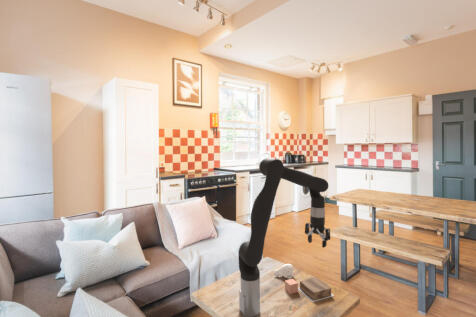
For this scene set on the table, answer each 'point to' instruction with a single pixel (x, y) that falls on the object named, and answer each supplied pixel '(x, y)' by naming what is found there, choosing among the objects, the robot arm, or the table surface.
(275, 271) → the white speckled wedge
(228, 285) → the table surface
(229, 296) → the table surface
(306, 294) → the grey flat square slab
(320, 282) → the walnut plinth
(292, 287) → the terracotta block
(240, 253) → the robot arm
